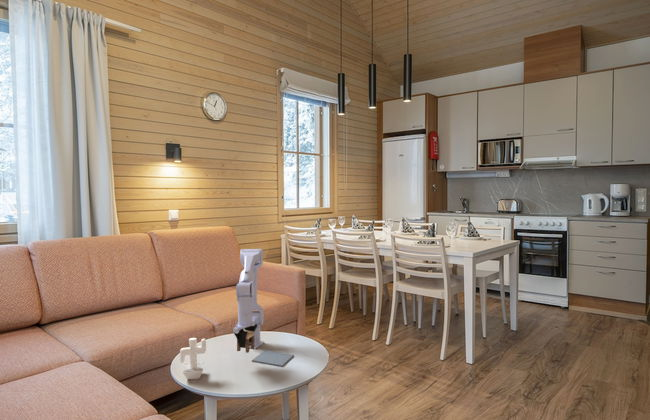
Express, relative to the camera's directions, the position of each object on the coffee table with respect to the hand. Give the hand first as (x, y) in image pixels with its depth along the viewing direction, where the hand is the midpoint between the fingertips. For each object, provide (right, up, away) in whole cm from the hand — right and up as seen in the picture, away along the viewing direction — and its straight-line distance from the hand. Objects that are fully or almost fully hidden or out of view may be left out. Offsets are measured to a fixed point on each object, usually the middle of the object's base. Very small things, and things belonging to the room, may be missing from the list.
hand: (245, 344), depth 169 cm
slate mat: (+10, -8, +7) cm, 15 cm away
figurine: (-18, -10, -8) cm, 22 cm away
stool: (0, -2, 0) cm, 2 cm away
